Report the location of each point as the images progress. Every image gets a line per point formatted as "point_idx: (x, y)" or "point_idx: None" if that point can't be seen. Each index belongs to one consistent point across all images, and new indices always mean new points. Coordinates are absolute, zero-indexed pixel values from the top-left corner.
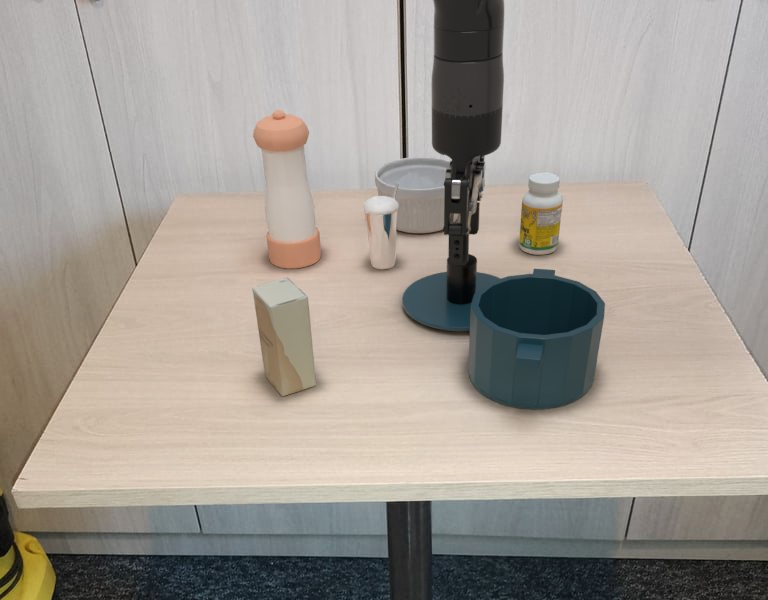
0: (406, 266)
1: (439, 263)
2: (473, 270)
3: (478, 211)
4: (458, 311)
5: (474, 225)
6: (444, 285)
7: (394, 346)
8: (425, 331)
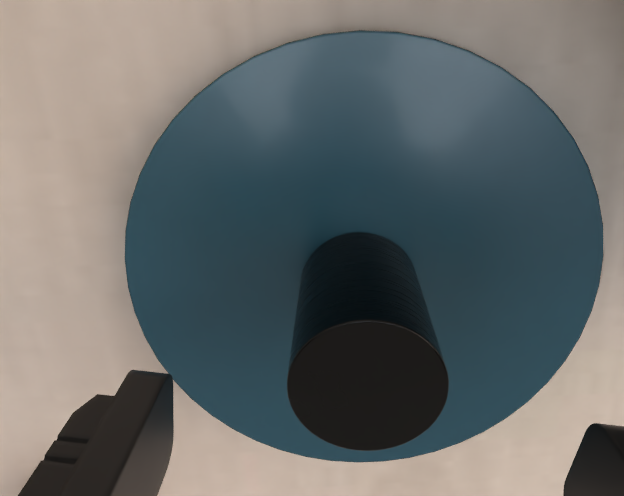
0: None
1: (35, 349)
2: (416, 315)
3: (110, 493)
4: (470, 290)
5: (155, 426)
6: (261, 344)
7: None
8: None
